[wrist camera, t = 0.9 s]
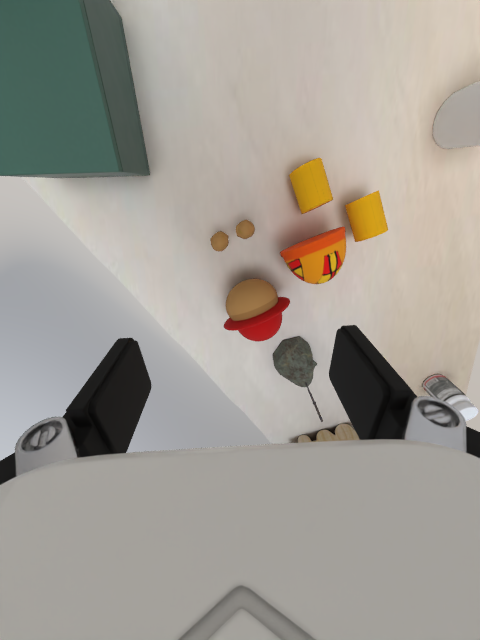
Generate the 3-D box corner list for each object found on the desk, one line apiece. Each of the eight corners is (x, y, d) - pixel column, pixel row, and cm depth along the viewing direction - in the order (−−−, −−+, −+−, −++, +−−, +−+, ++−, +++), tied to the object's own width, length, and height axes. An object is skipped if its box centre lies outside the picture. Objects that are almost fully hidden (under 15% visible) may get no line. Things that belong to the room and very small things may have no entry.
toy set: (189, 230, 37) (236, 337, 42) (165, 222, 27) (232, 365, 32) (345, 157, 34) (378, 283, 38) (388, 116, 23) (425, 296, 28)
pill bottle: (443, 387, 52) (477, 420, 44) (420, 391, 52) (451, 425, 45) (447, 371, 49) (484, 403, 42) (423, 376, 50) (456, 408, 43)
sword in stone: (263, 349, 45) (272, 398, 35) (301, 331, 43) (323, 377, 33) (285, 382, 49) (299, 434, 39) (320, 367, 48) (345, 417, 37)
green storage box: (5, 19, 24) (-103, -59, 16) (121, 17, 24) (69, -62, 16) (60, 178, 30) (2, 175, 23) (150, 175, 31) (123, 172, 23)
